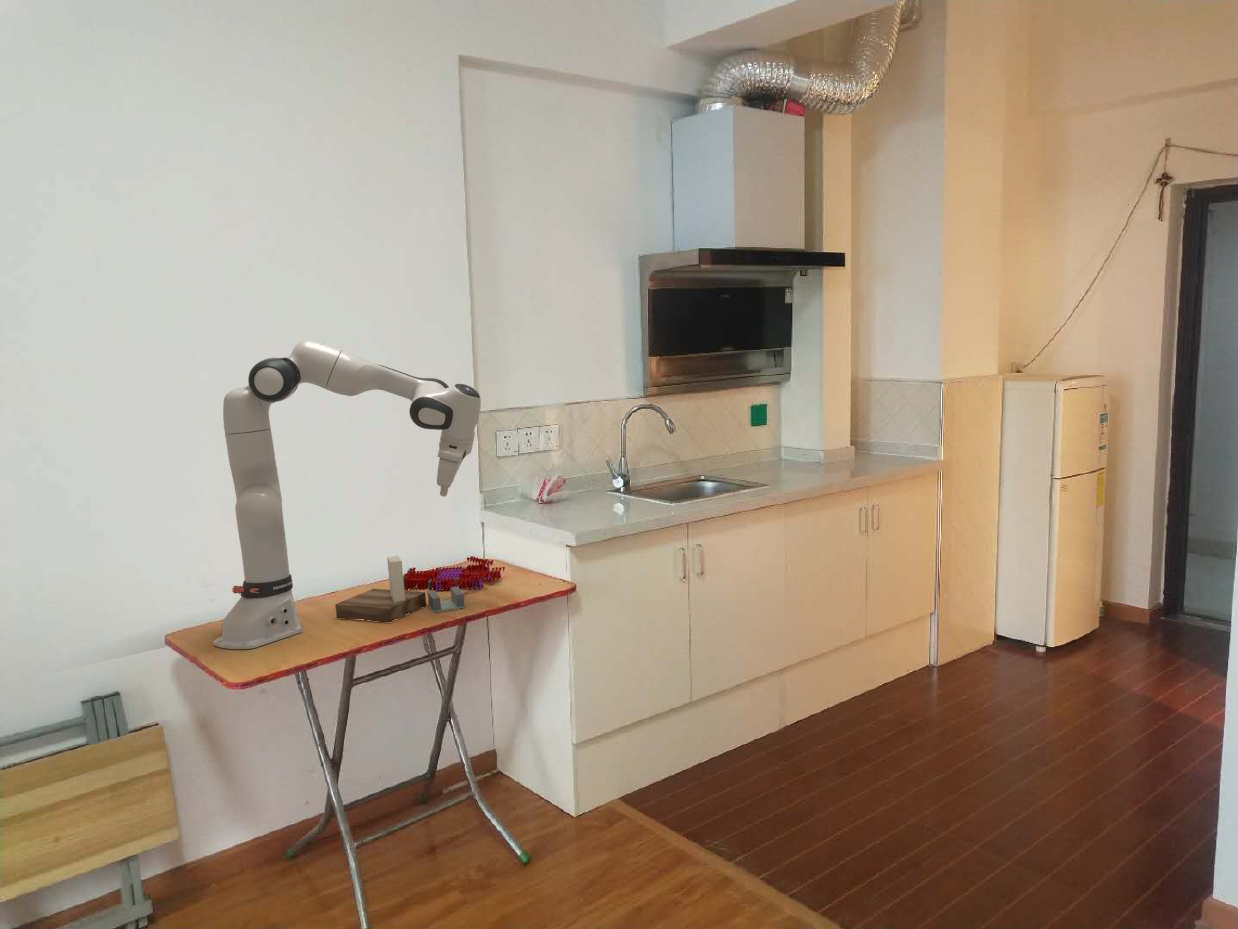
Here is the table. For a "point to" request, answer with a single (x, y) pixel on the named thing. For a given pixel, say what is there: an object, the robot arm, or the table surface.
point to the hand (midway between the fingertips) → (446, 488)
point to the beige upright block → (396, 578)
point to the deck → (379, 605)
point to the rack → (445, 605)
